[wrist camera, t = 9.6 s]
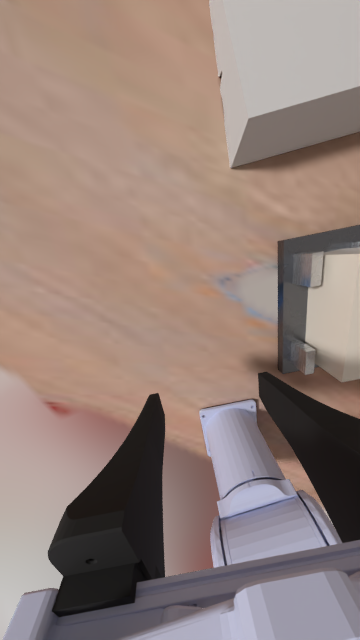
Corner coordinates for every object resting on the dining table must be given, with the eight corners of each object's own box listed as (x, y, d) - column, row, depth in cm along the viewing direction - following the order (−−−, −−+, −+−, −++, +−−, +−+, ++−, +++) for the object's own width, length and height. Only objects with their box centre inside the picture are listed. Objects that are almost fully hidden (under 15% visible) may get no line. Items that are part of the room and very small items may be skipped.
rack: (344, 356, 24) (372, 372, 20) (278, 369, 24) (295, 387, 20) (363, 224, 18) (406, 216, 15) (277, 241, 18) (302, 237, 15)
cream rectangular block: (332, 350, 22) (376, 375, 17) (304, 355, 22) (341, 382, 17) (343, 248, 18) (406, 244, 13) (309, 255, 18) (360, 253, 13)
